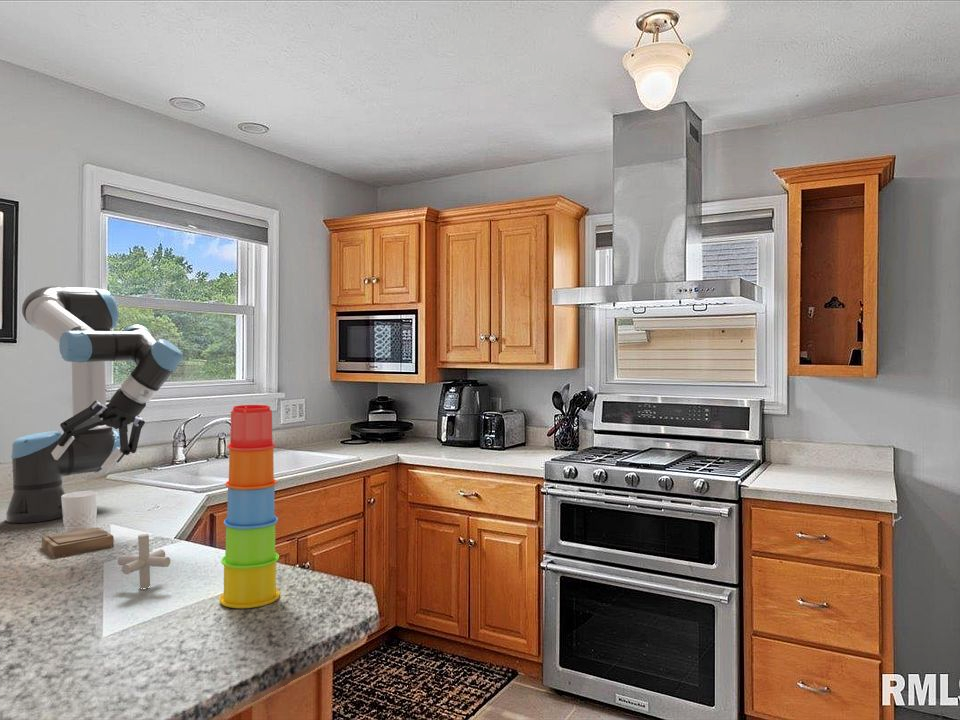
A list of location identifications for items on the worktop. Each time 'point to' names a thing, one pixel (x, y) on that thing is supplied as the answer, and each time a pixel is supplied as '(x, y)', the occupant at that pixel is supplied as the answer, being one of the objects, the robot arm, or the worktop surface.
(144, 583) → the beige jack
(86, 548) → the walnut board
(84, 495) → the white cup
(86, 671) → the worktop surface
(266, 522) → the stacking cups
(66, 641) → the worktop surface
